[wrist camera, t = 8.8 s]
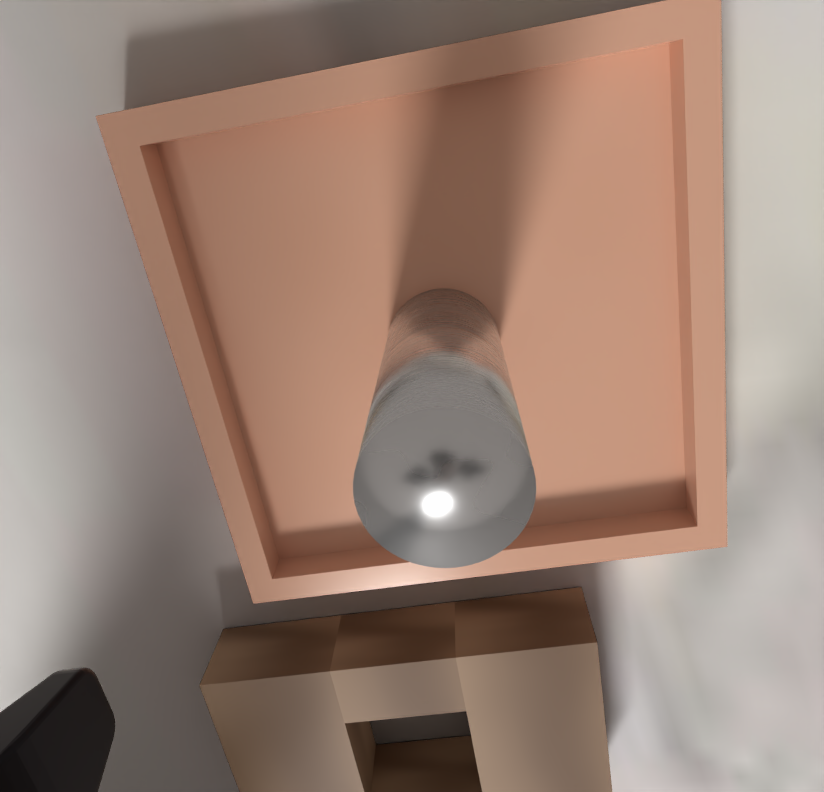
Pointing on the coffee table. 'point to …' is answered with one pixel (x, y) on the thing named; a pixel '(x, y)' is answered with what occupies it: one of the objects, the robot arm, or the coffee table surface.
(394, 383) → the metal pin
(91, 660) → the coffee table surface
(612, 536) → the terracotta dish
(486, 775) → the clamp block
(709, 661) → the coffee table surface
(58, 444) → the coffee table surface
